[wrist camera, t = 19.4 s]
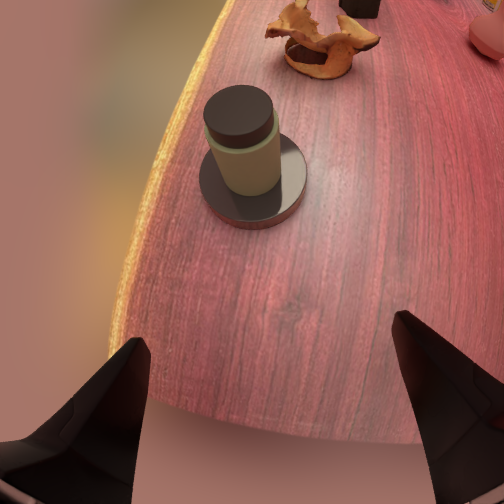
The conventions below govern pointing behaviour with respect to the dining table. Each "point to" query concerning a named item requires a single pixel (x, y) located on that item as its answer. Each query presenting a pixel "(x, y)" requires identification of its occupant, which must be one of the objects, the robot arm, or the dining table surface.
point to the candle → (360, 8)
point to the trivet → (262, 206)
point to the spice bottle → (244, 138)
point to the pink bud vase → (489, 33)
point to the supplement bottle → (492, 4)
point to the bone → (321, 40)
